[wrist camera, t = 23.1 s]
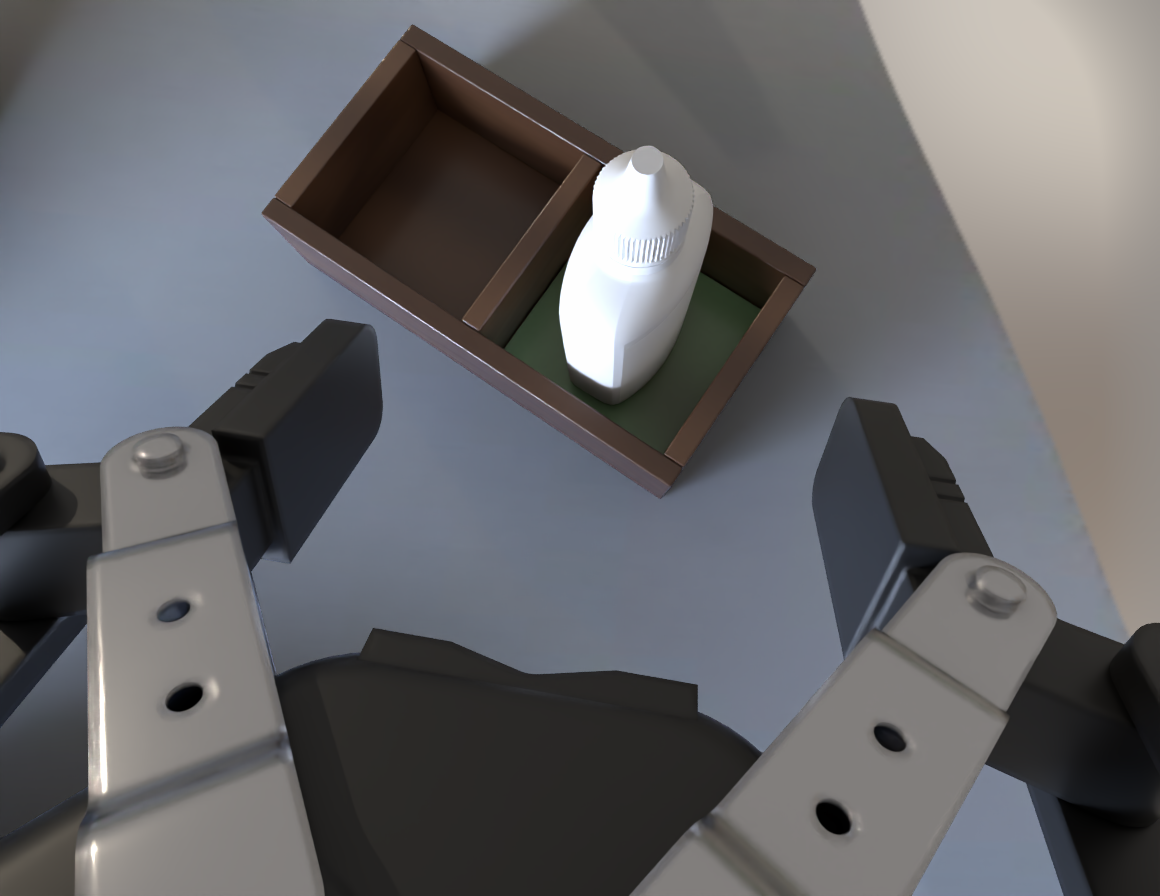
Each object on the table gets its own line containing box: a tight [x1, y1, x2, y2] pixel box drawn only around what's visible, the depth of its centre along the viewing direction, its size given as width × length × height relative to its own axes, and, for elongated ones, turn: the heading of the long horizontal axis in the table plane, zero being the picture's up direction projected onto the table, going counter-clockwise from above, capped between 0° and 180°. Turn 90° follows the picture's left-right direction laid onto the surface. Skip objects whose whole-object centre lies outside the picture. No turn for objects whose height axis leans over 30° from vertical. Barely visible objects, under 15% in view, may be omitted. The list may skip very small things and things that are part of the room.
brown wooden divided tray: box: [262, 25, 816, 499], centre depth 26 cm, size 9×17×4 cm, turn 56°
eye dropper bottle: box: [559, 146, 713, 405], centre depth 21 cm, size 4×6×12 cm
